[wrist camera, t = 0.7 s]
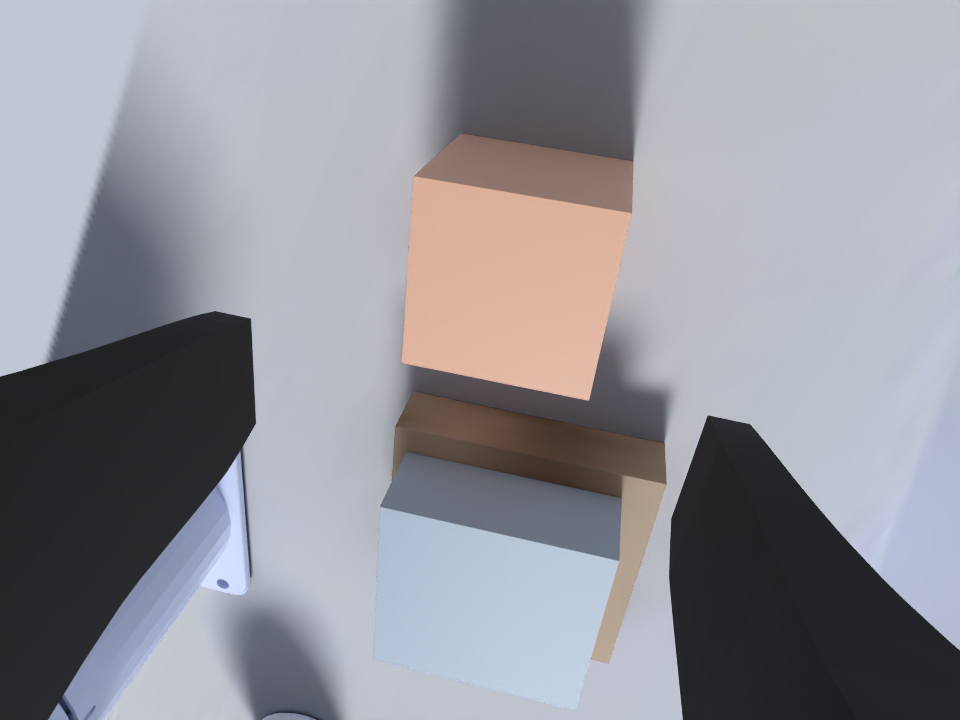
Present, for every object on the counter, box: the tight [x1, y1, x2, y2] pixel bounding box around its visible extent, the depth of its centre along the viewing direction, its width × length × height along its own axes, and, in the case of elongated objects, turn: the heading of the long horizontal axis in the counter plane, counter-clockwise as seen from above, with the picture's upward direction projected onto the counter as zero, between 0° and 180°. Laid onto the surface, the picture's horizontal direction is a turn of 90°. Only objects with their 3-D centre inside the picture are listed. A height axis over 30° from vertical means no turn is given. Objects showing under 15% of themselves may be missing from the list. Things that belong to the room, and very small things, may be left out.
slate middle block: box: [373, 452, 622, 711], centre depth 21 cm, size 6×6×2 cm
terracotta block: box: [402, 133, 633, 401], centre depth 17 cm, size 4×4×4 cm
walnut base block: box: [392, 392, 667, 664], centre depth 23 cm, size 8×8×2 cm
